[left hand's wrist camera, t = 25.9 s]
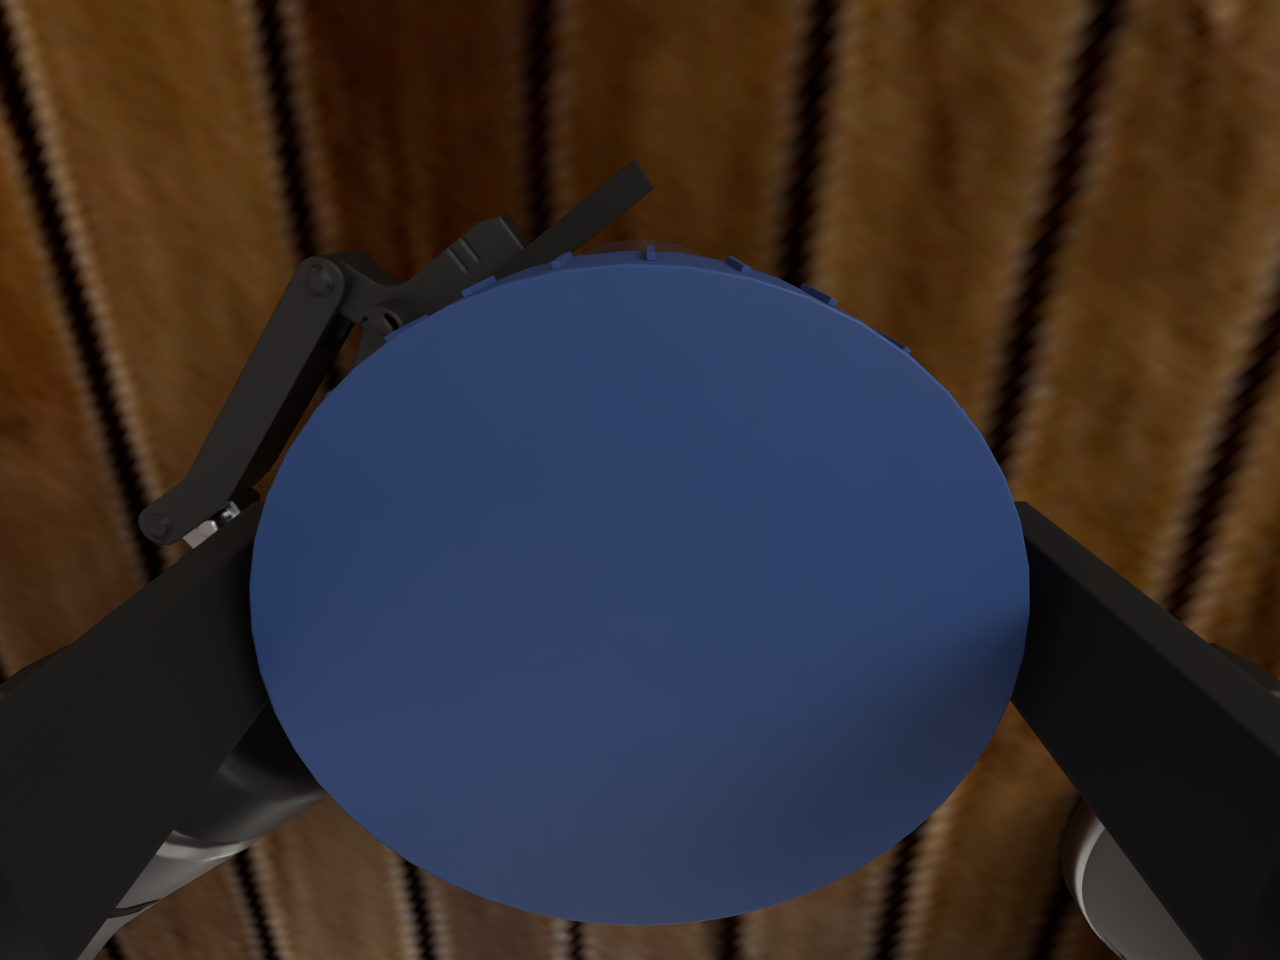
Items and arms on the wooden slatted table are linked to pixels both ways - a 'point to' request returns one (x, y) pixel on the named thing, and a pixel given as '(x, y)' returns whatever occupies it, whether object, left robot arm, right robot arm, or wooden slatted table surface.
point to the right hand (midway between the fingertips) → (764, 355)
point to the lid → (639, 591)
